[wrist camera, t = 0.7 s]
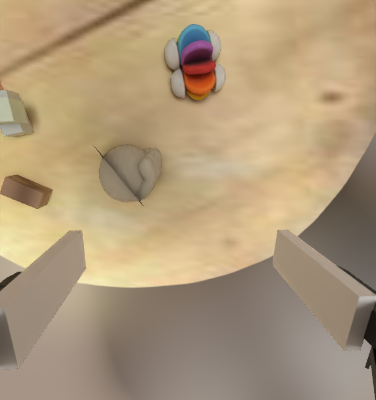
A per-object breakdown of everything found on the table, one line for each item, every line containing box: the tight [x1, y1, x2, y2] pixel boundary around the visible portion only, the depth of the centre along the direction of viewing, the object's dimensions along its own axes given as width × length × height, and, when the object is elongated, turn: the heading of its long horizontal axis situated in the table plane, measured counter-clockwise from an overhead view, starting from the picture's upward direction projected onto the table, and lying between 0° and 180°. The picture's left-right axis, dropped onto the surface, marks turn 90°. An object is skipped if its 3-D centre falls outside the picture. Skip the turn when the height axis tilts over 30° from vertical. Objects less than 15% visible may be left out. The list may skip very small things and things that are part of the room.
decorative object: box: [94, 145, 161, 204], centre depth 33 cm, size 13×10×10 cm
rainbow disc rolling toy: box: [164, 24, 225, 100], centre depth 31 cm, size 8×10×7 cm
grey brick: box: [0, 89, 34, 137], centre depth 33 cm, size 6×3×3 cm, turn 13°
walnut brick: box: [0, 175, 52, 209], centre depth 36 cm, size 6×3×3 cm, turn 63°
